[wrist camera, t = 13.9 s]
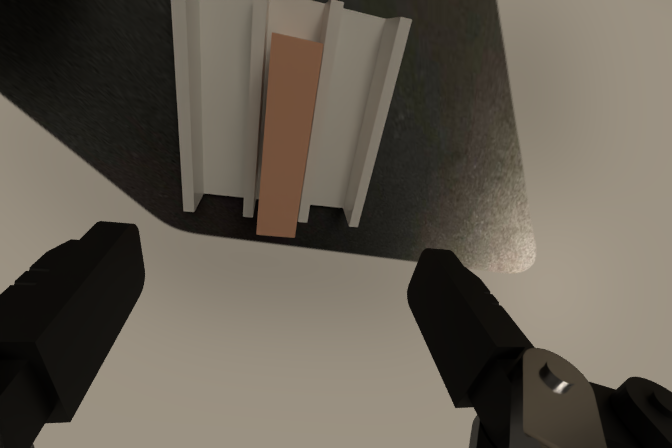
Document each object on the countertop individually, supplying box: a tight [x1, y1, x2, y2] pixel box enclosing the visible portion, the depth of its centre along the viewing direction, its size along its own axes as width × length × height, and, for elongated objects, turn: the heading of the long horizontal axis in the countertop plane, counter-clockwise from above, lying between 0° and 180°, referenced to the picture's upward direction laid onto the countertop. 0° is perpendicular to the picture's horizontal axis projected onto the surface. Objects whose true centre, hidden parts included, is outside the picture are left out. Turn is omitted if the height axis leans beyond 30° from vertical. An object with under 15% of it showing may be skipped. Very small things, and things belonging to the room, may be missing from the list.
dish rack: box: [171, 0, 412, 227], centre depth 25 cm, size 16×15×5 cm
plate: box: [256, 32, 324, 238], centre depth 21 cm, size 11×2×10 cm, turn 169°
